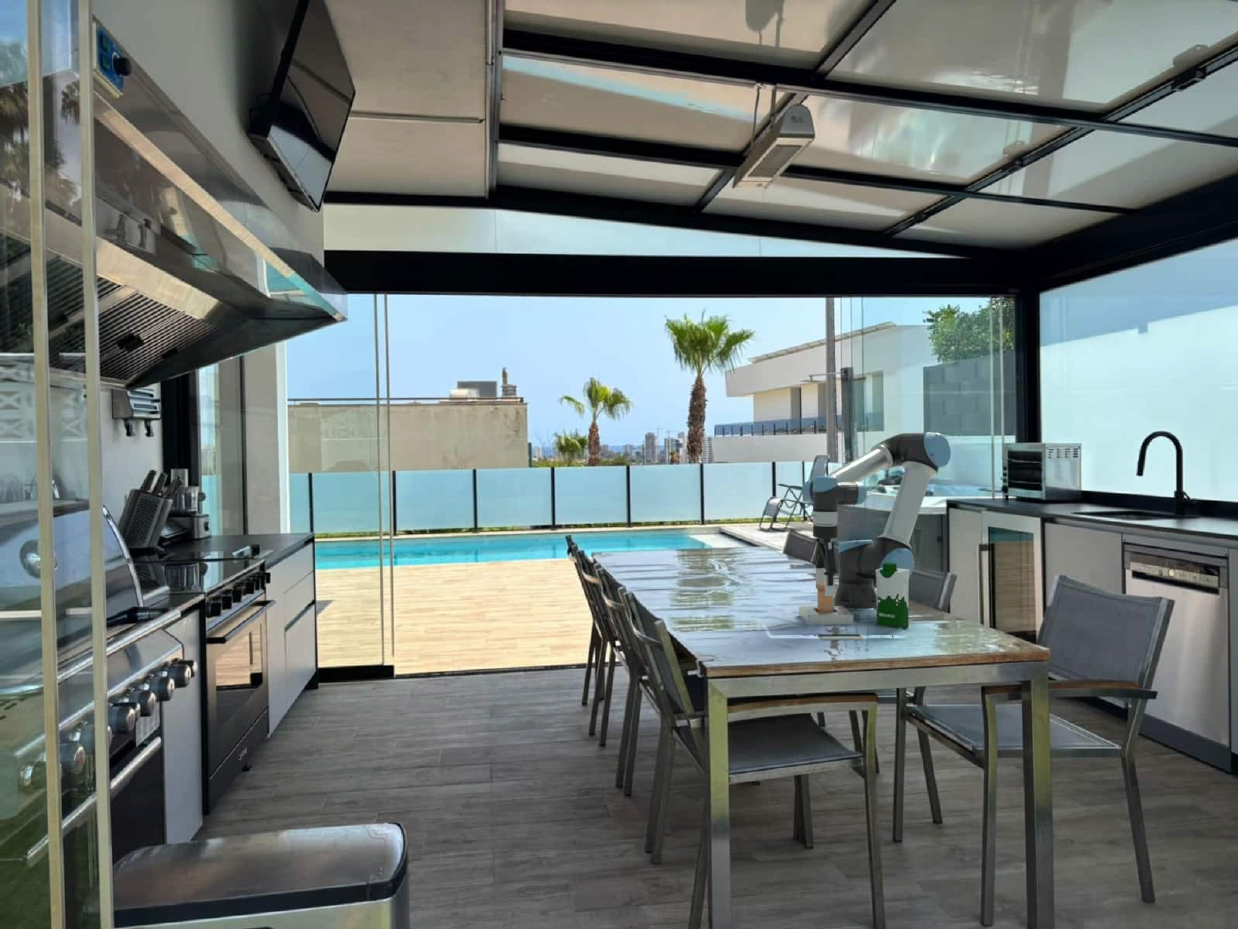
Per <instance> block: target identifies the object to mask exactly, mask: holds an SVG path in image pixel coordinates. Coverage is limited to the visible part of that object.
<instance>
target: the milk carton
mask: <svg viewBox="0 0 1238 929" xmlns="http://www.w3.org/2000/svg"><path fill="white" fill-rule="evenodd" d="M875 571H876V580H875V581H876V595H877V609H876V626H880V627H888V628H894V629H902V630H905V629H908V628H909V580H910V576H909V572H910V569H900V568H897V564H896V563H883V568H881V569H877V570H875Z"/></svg>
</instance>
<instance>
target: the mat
mask: <svg viewBox="0 0 1238 929" xmlns="http://www.w3.org/2000/svg"><path fill="white" fill-rule="evenodd" d="M816 635H817V636H818V637H819V638H820V639H821V641H864V640H865V639H864V637H863V636H862V635H860V634H855V633H854V634H851V633H850V634H849V633H848V634H847V633H846V634H845V633H844V634H840V633H839V634H837V633H836V634H829V633H828V634H827V633H826V634H825V633H824V634H823V633H822V634H816Z"/></svg>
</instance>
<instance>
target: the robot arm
mask: <svg viewBox="0 0 1238 929" xmlns="http://www.w3.org/2000/svg"><path fill="white" fill-rule="evenodd" d="M951 451H952V450H951V446H950V442H949V440H948V439H947V438H946V437H945V435H943V434H942V433H939V432H931V431H928V432H903V433H897V434H896V435H893V436H891V437H888V438H886V439H885V440H882V441H880V442H878V443H876V444H875V445H873V446H872V447H871V449H870V450H869V451H868V452H866V453H865V454H863V455H862V456H859V457H857V458H856V459H853V460H852V461H850V462H848V463H846V464H845V465H842V466H841V467H839V468H837V469H835V470H834V471H832V472H830V473H829V474H827V475H817V476H814V478H813V479H809V480H807V481H805V482H804V484H803V485H802V487H801V494H802V497H803V499H804V500H805V501H807V502H809V503H812V510H813V512H812V513H813V514H811V518H812V522H813V524H814V525H813V526H812V536H813V538H816V545H815V546H816V548H815V554H814V562H813V563H814V564H813V565H814V566H815V585H816V584H825V596H834V606H843V607H844V608H846V609H848V608H849V609H874V610H877V591H876V589H875V586H874V581H876V571H875V570H877V569H881V568H883V563H896V564H897V568H900V569H910V572H909V577H911V575H912V573H913V571H914V567H915V561H914V560H915V557H914V555H913V553H912V546H911V544H910V540H911V537H912V535H913V531H914V528H915V525H916V522H917V519H918V516H919V513H920V510H921V508H922V504H923V501H924V498H925V495H926V492H927V490H928V487H929V483H930V481H931V479H932V478H935V477H936V476H937V475H938V472H939V469H940V468H944V467H946V466H947V465H948V464H949V463H950V460H951V453H952V452H951ZM896 467H902V468H903V470H904V472H903V474H902V478H901V481H900V484H899V487H898V490H897V493H896V496H895V499H894V501H893V504H892V507H891V510H890V513H889V516H888V519H887V522H886V524H885V527H884V530H883V533H882V534H880V535H877V537H876V539H875V542H874V540H872V539H859V540H847V541H841V542H840V543H839V544H838V552H837V562H838V563H837V567H836V558H835V557H836V556H835V543H834V542H832V539H837V537H838V526H837V525H838V521H839V520H838V519H839V516H838V515H839V513H838V512H839V511H838V507H839V506H857V505H862V504H864V502H865V501H866V500H867V497H868V495H867V494H868V490H867V487H866V485H865V484H864V483H862V481H864V480H866V479H867V478H869V477H871V476H873V475H874V474H876V473H878V472H880V471H888V470H890V469H892V468H896ZM837 568H838V569H837ZM837 570H838V572H837ZM837 573H838V575H837V576H838V582H837V583H838V585H837V588H836V589H834V585H835V575H836V574H837ZM835 590H836V591H835Z"/></svg>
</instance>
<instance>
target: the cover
mask: <svg viewBox="0 0 1238 929" xmlns="http://www.w3.org/2000/svg"><path fill="white" fill-rule="evenodd" d="M815 590H817V593H816V594H817V596H816V597H817V599H816V601H817V603H816V604H817V605H816V606H817V613H823V612H834V596H835V595H834V596H825V584H816V583H815ZM834 590H836V585H835V584H834Z"/></svg>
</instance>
